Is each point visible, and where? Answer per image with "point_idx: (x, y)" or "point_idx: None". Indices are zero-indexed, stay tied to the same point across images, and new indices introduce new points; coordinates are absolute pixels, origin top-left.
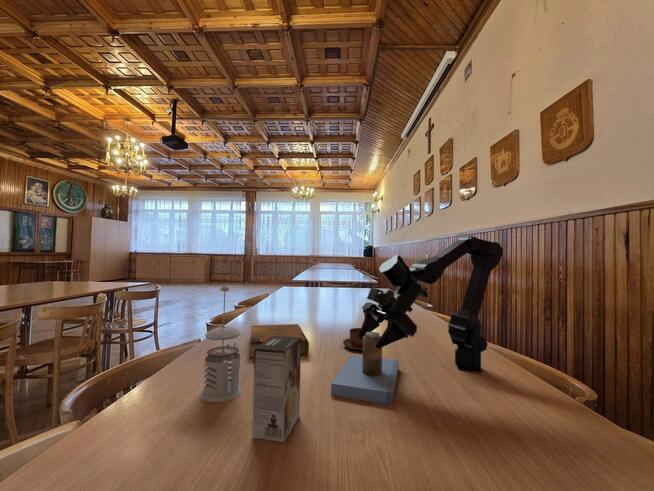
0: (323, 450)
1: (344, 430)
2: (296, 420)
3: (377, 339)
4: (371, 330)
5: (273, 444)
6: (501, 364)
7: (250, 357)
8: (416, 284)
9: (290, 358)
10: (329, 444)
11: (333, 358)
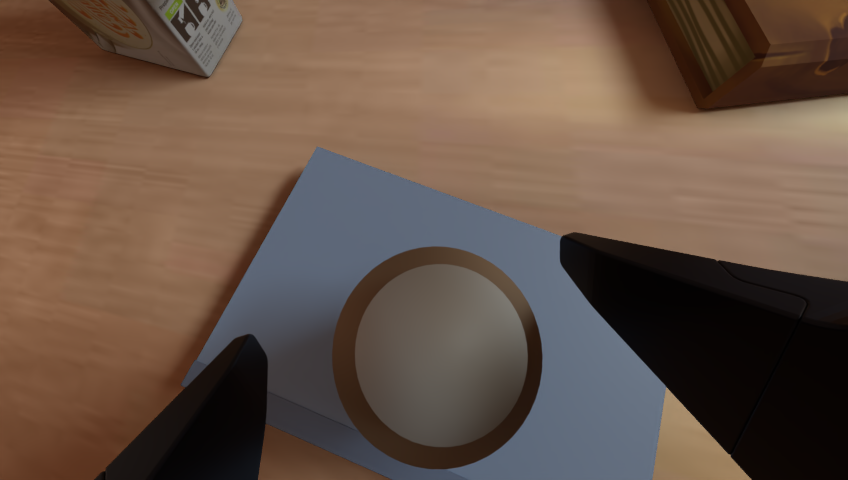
0: (38, 126)
1: (105, 184)
2: (181, 69)
3: (357, 388)
4: (678, 390)
5: None
6: None
7: None
8: None
9: None
10: (56, 141)
11: (695, 212)
